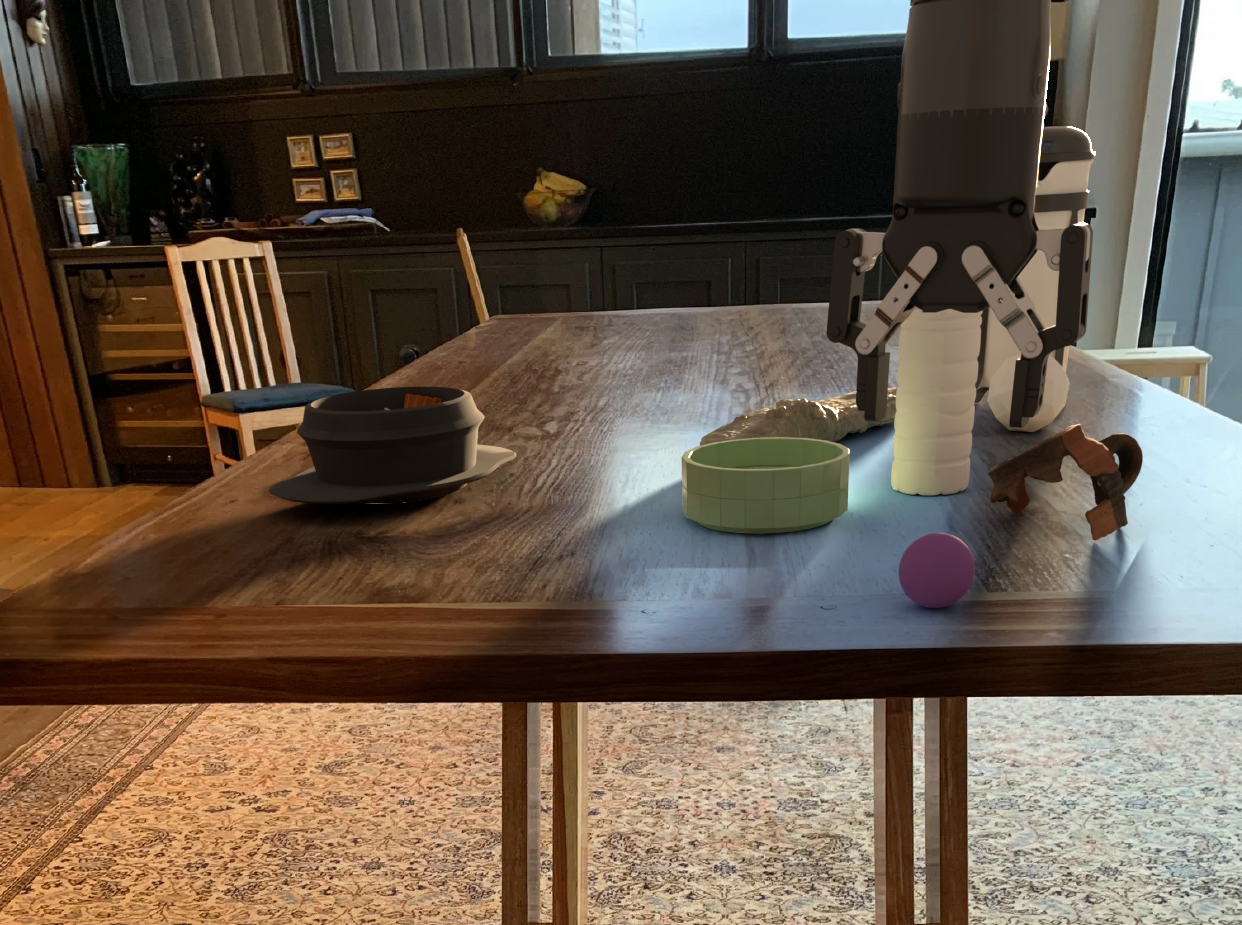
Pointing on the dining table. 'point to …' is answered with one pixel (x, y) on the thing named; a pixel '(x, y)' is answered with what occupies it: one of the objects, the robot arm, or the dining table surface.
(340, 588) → the dining table surface
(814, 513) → the bowl
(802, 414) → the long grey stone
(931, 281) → the robot arm
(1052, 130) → the coffee press
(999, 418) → the geometric ball
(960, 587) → the ball
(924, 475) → the water bottle
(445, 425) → the grey pot on saucer
